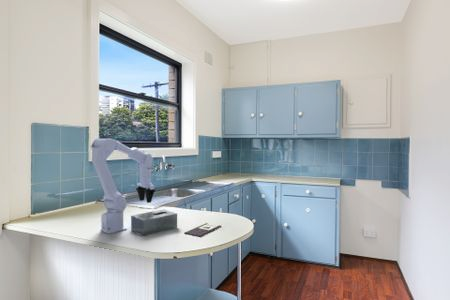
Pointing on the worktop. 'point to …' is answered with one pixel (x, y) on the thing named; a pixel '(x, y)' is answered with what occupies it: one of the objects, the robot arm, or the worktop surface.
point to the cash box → (153, 222)
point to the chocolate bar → (202, 230)
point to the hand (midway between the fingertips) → (145, 201)
